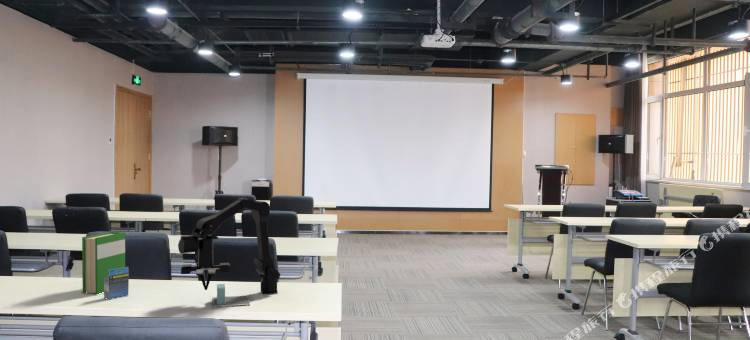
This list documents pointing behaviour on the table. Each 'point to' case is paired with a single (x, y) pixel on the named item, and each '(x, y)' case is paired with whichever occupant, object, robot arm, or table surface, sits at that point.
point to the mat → (232, 301)
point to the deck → (220, 293)
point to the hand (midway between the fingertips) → (205, 289)
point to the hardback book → (101, 259)
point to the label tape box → (116, 283)
